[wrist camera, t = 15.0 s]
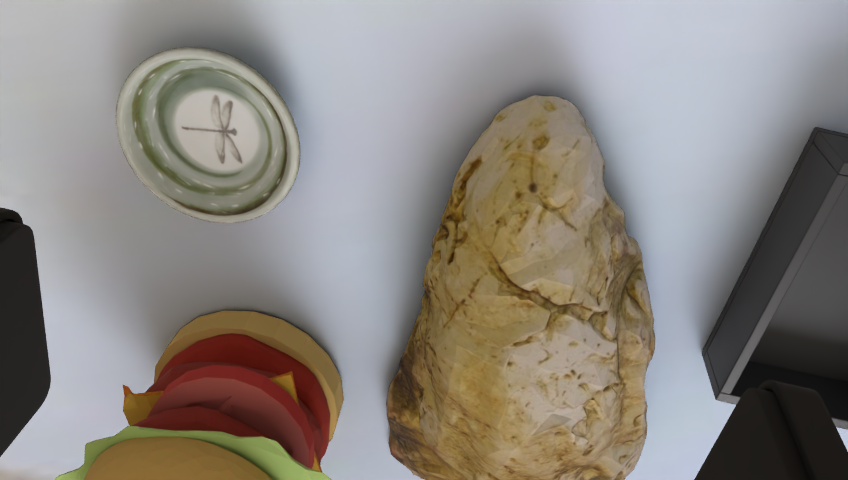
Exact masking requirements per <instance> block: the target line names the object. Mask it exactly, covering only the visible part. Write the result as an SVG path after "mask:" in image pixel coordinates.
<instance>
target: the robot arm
mask: <svg viewBox="0 0 848 480" xmlns="http://www.w3.org/2000/svg"><path fill="white" fill-rule="evenodd" d="M50 382H51V375H50V367H49V358H48V350H47V342H46V333H45V325H44V317H43V308H42V300H41V292H40V283H39V275H38V267H37V258H36V250H35V242H34V235H33V231H32V229H31V228H30V227H29V226H27V225H24V224H23V221H22V218H21V217H20V215H19V214H18V213H17V212H15V211H13V210H9V209H5V208H0V457H1V455H2V454H3V453H4V452H5V450H6V449H7V448H8V447H9V445H10V444H11V443H12V442H13V440H14V439H15V438H16V437H17V435H18V434H19V433H20V432H21V430H22V429H23V428H24V427H25V425H26V424H27V423H28V422H29V420H30V419H31V418H32V417H33V415H34V414H35V413H36V412H37V410H38V409H39V408H40V407H41V405H42V404H43V402H44V401H45V398H46V396H47V394H48V391H49V388H50ZM694 480H848V452H847V449H846V447H845V445H844V443H843V441H842V439H841V437H840V435H839V433H838V431H837V428H836V426H835V424H834V422H833V420H832V418H831V416H830V414H829V412H828V410H827V408H826V405H825V403H824V401H823V399H822V397H821V396H820V395H819V393H818V392H817V391H815V390H813V389H809V388H805V387H800V386H796V385H791V384H787V383H782V382H778V381H773V380H766V381H765V382H763V383H762V384H761V385H760V386H759V387H758V389H757V388H748V389H747V390H745V392H744V393H743V394H742V396H741V398H740V400H739V401H738V403H737V405H736V407H735V409H734V410H733V412H732V414H731V416H730V417H729V419H728V421H727V423H726V424H725V426H724V428H723V430H722V432H721V433H720V435H719V437H718V439H717V440H716V442H715V444H714V446H713V448H712V449H711V451H710V453H709V455H708V456H707V458H706V460H705V462H704V463H703V465H702V467H701V469H700V471H699V472H698V474H697V476H696V478H695V479H694Z"/></svg>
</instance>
